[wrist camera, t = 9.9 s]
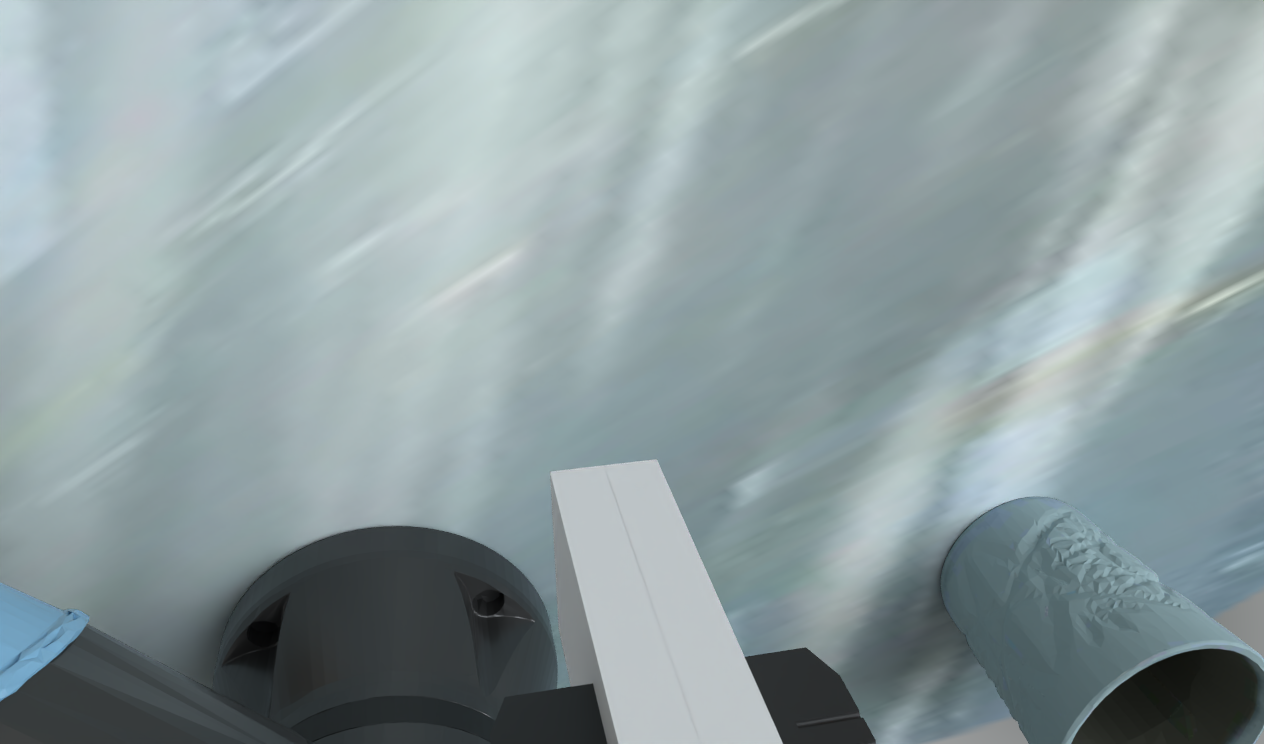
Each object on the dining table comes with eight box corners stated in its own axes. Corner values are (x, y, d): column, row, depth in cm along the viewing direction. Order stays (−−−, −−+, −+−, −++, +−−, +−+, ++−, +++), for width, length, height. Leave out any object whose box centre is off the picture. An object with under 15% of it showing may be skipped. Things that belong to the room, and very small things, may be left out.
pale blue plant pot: (1094, 457, 50) (1278, 608, 40) (1110, 602, 55) (1278, 771, 45) (909, 530, 50) (1044, 703, 40) (940, 670, 55) (1069, 858, 44)
